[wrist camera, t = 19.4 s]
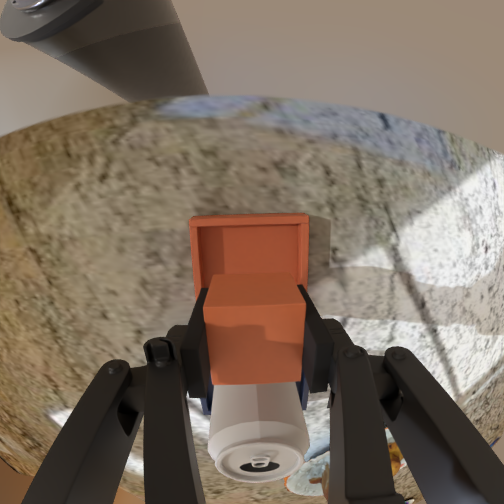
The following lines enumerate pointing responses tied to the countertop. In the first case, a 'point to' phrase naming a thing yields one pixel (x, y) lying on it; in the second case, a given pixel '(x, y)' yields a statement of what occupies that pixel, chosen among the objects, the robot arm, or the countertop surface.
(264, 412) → the can
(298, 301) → the block
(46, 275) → the countertop surface
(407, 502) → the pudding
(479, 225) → the countertop surface
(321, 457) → the food on plate
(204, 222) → the terracotta tray
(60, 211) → the countertop surface
